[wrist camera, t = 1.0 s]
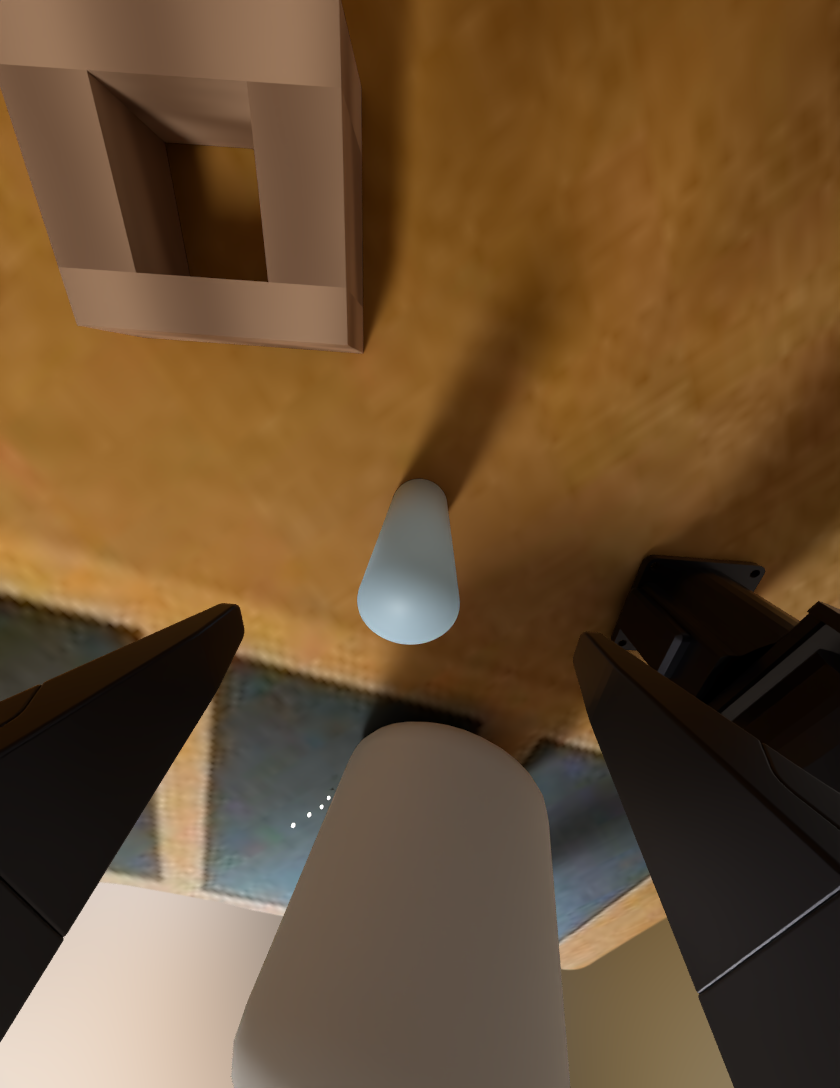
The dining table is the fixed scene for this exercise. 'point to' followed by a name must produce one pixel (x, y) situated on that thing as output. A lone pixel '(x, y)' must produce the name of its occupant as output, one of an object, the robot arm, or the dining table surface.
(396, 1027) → the jar
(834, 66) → the dining table surface
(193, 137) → the socket block
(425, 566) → the dowel
